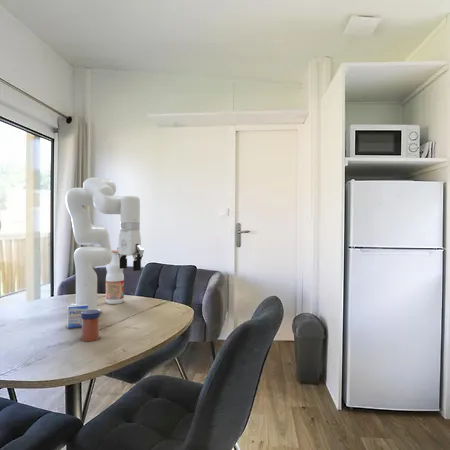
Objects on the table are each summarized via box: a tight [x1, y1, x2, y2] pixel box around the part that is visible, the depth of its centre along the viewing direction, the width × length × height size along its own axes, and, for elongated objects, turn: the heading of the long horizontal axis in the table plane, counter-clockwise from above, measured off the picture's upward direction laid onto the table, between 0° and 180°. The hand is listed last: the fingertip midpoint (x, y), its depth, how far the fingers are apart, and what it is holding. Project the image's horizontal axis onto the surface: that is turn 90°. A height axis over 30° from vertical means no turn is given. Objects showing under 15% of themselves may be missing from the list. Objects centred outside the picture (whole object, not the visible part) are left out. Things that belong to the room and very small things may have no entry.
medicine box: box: [66, 304, 88, 329], centre depth 155 cm, size 8×4×9 cm, turn 117°
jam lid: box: [81, 310, 101, 319], centre depth 138 cm, size 7×7×2 cm
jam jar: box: [81, 317, 100, 342], centre depth 138 cm, size 6×6×10 cm
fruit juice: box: [105, 249, 125, 305], centre depth 200 cm, size 9×9×28 cm
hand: (130, 269), depth 149 cm, fingers open, 9 cm apart
